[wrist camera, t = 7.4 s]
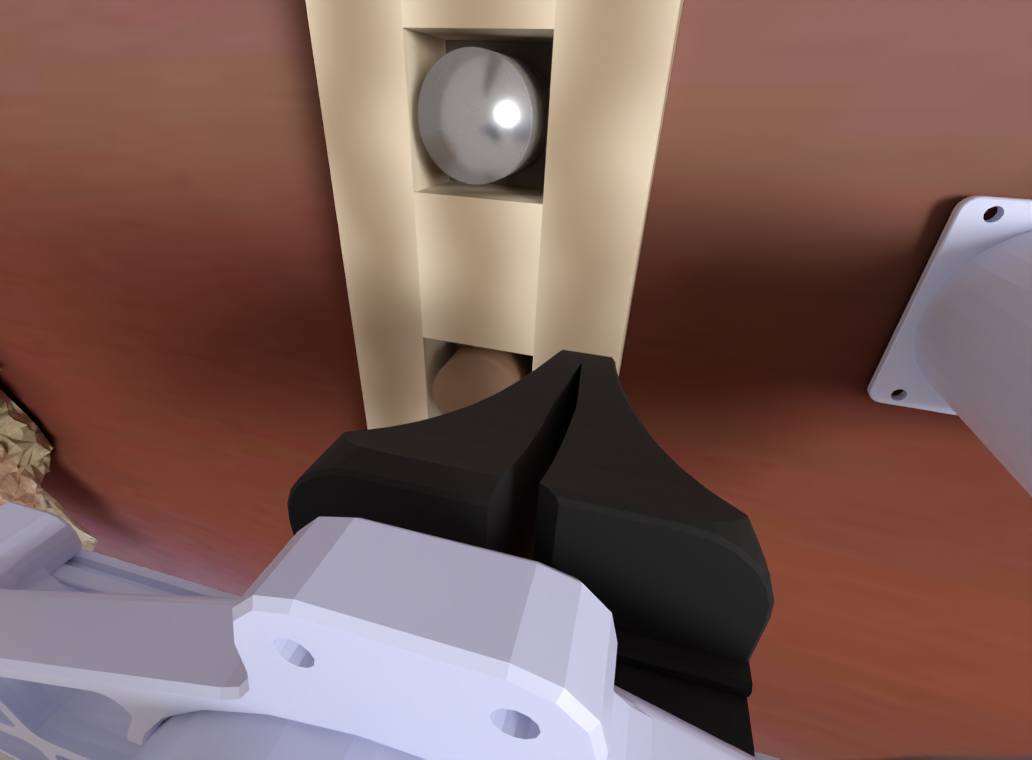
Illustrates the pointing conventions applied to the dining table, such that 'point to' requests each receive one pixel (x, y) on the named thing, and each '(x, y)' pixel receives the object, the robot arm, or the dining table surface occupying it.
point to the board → (488, 185)
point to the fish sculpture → (28, 466)
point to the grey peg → (483, 115)
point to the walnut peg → (477, 376)
